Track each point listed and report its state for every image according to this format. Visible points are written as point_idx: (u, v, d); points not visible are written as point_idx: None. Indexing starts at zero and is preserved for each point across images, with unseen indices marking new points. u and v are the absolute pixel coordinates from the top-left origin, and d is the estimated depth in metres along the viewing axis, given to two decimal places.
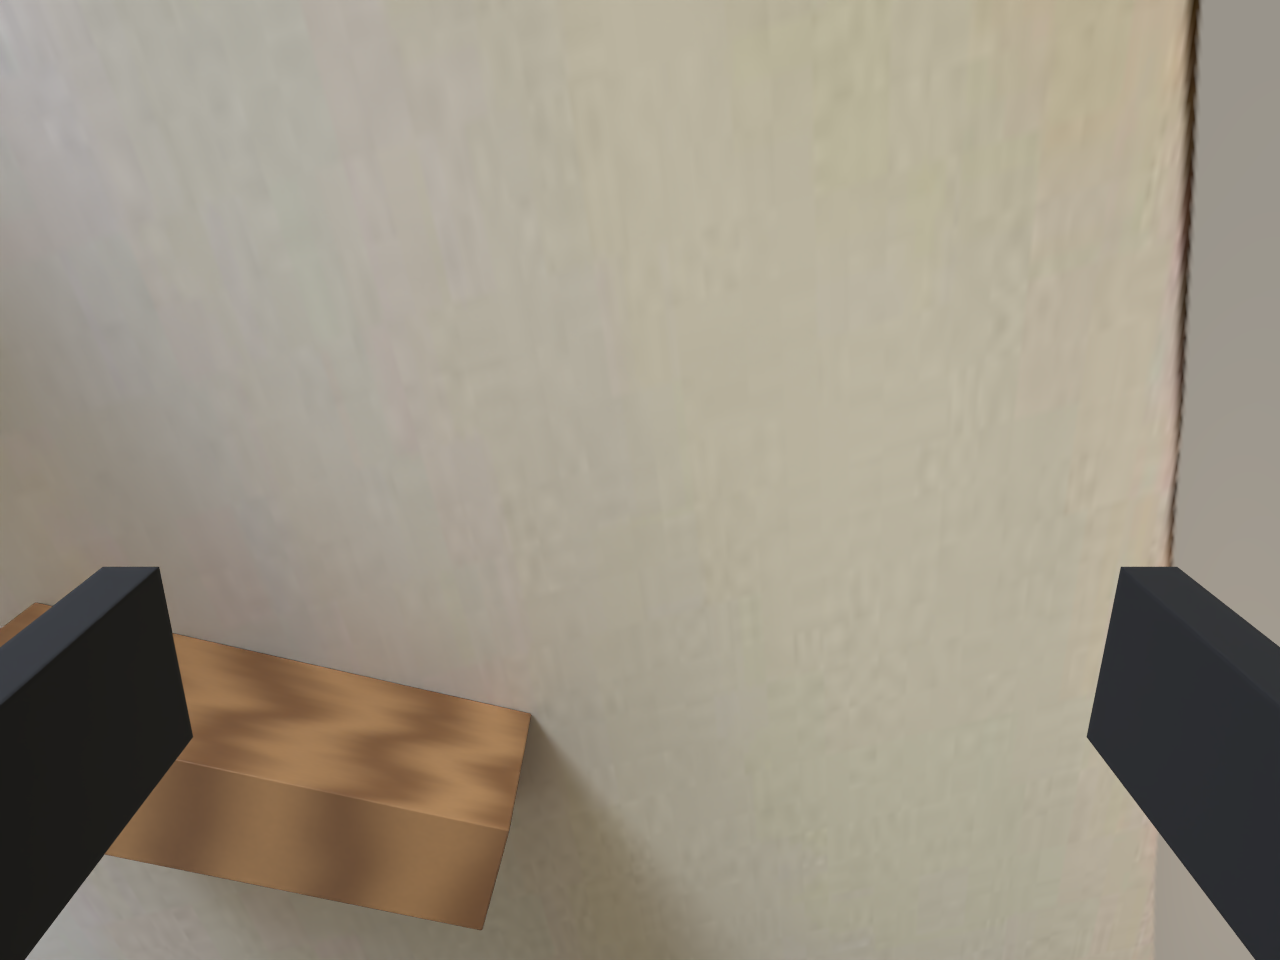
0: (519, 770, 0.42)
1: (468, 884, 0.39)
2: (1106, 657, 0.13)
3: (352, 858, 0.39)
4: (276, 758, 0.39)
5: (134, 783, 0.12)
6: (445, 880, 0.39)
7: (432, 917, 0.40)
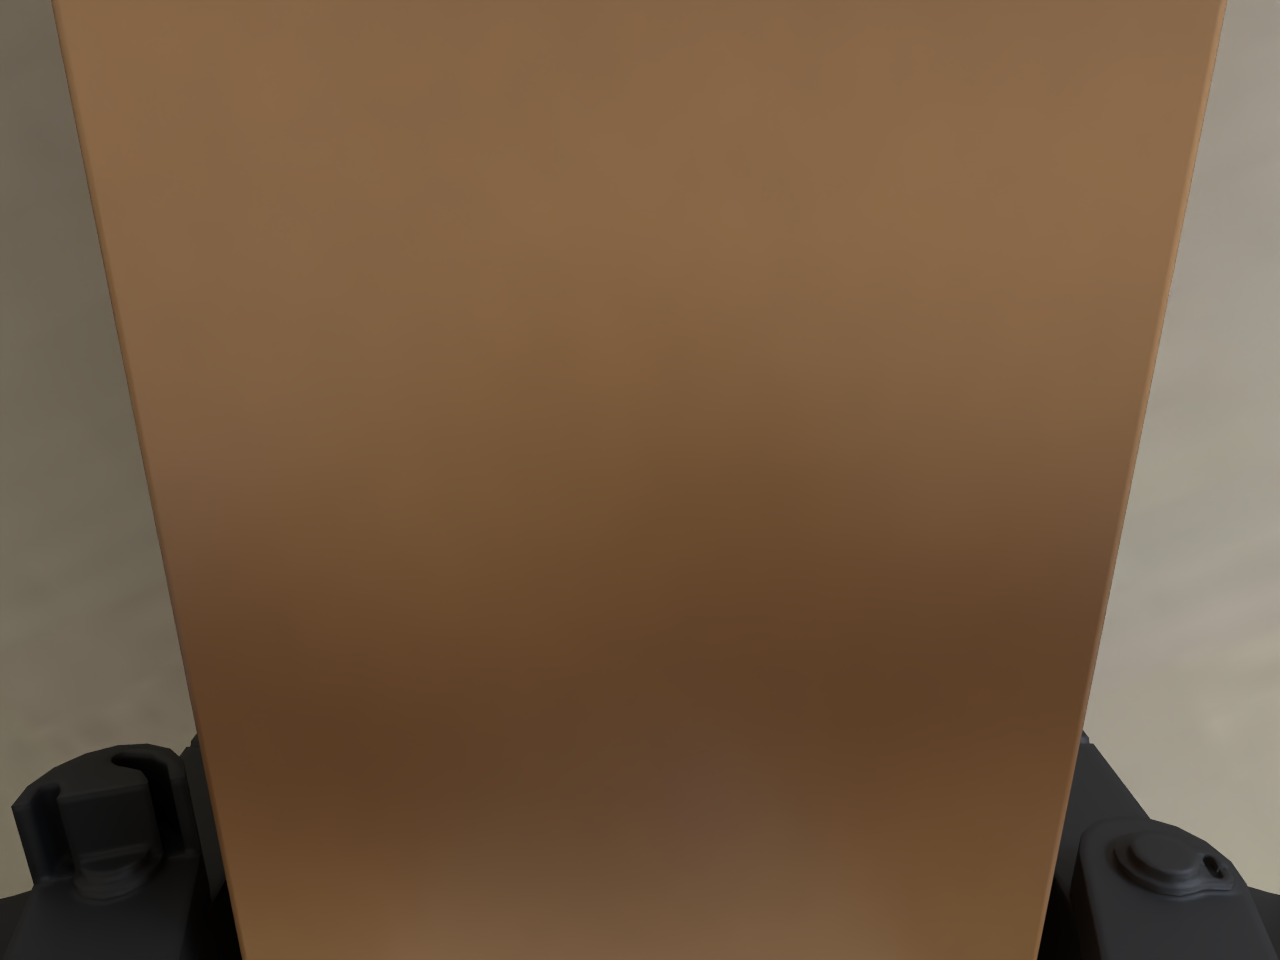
0: None
1: None
2: None
3: (591, 773, 0.06)
4: None
5: None
6: None
7: None
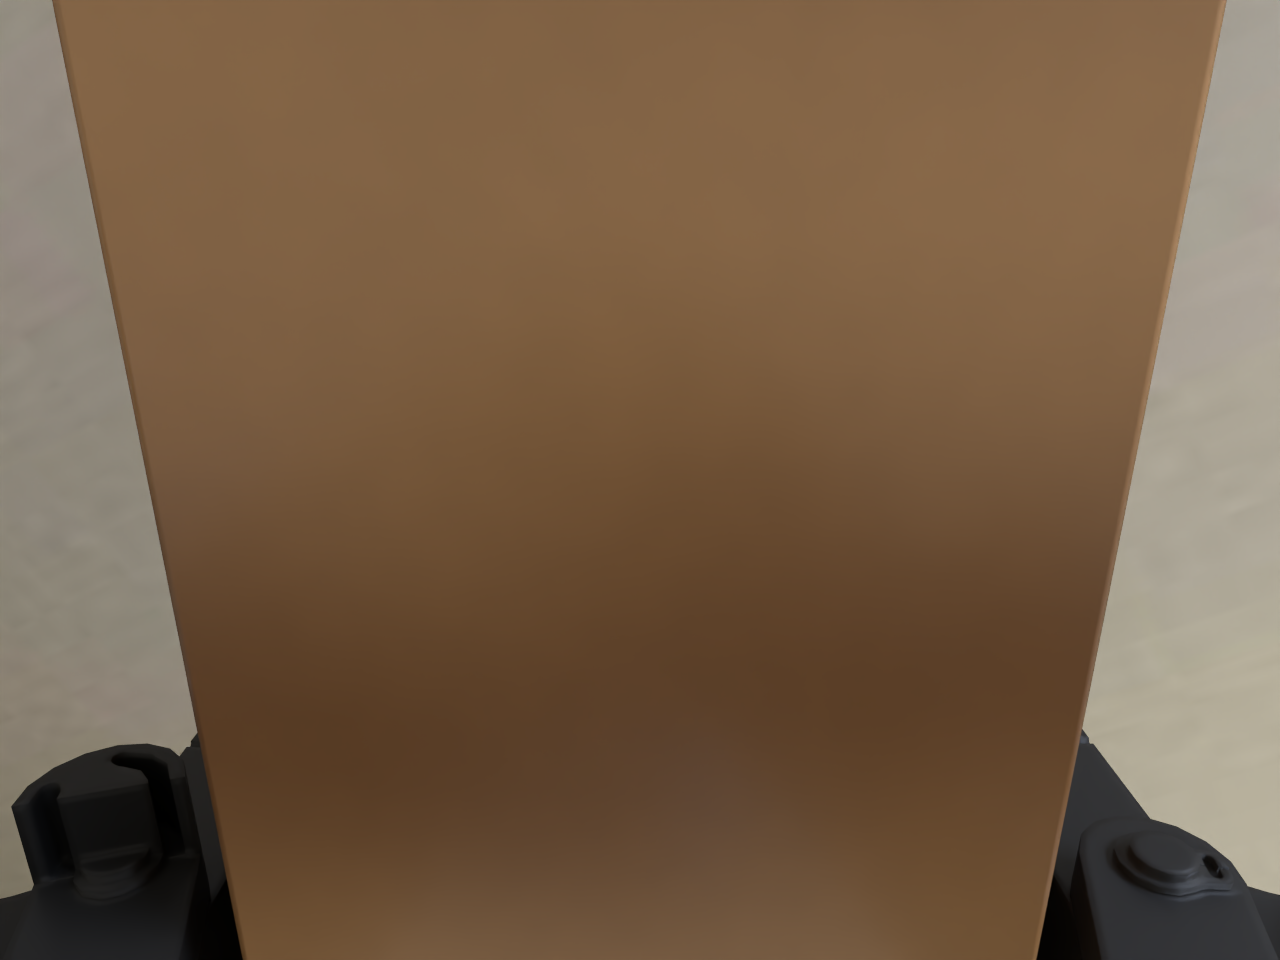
0: None
1: None
2: None
3: (591, 773, 0.06)
4: None
5: None
6: None
7: None
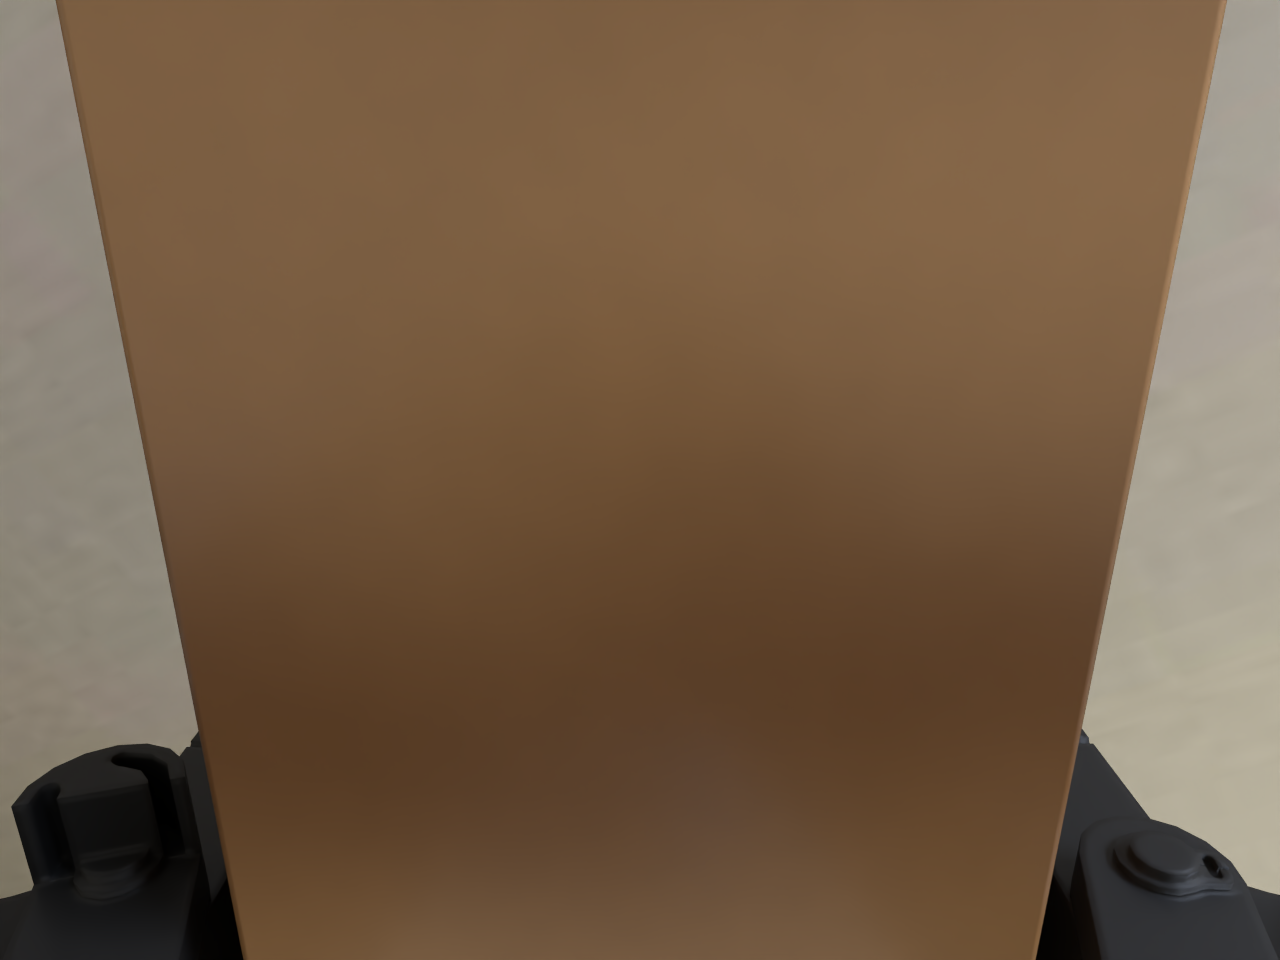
0: None
1: None
2: None
3: (591, 770, 0.06)
4: None
5: None
6: None
7: None
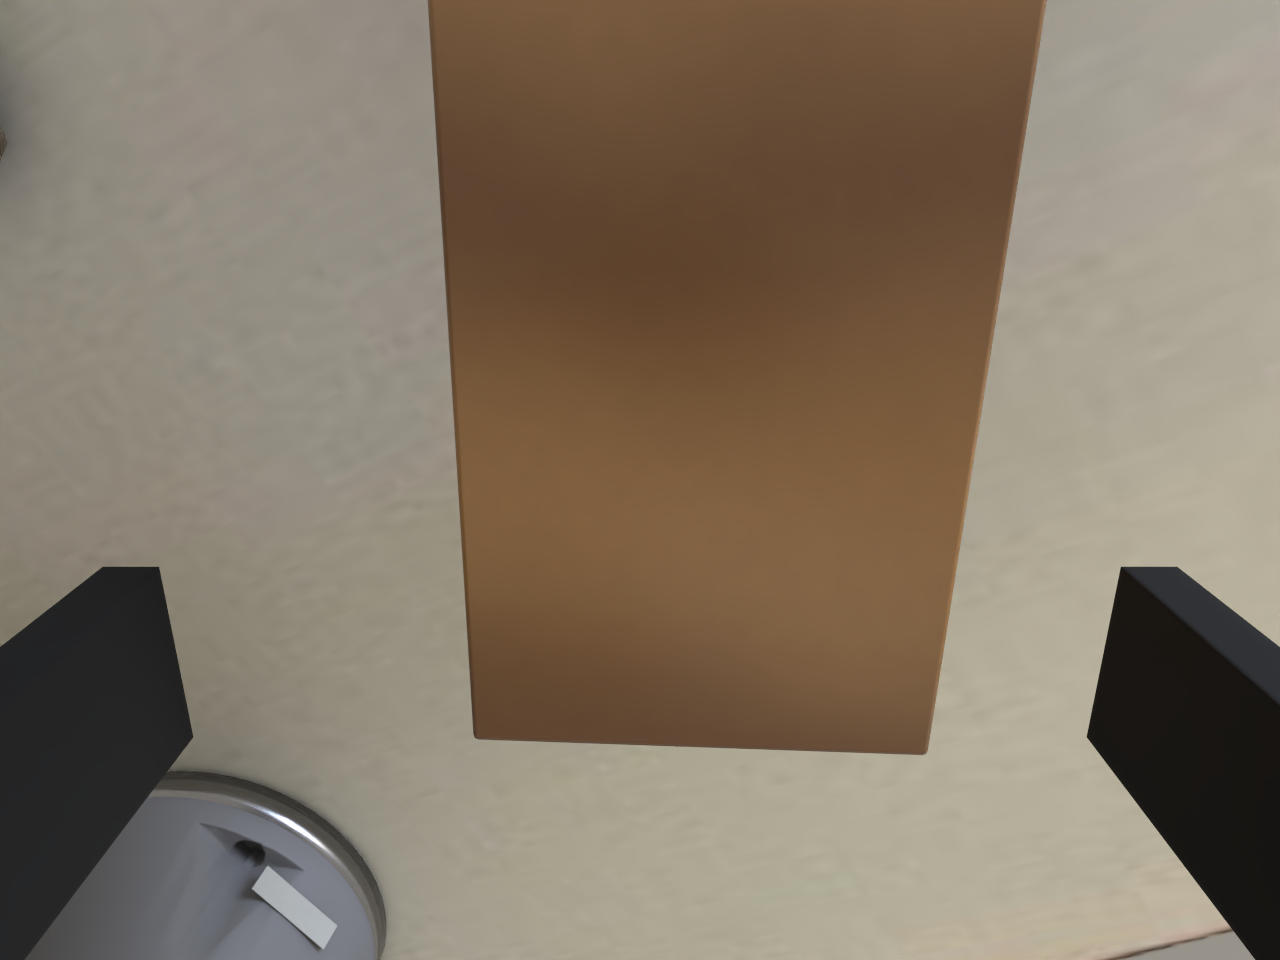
0: None
1: (667, 672, 0.11)
2: (1106, 656, 0.13)
3: (691, 247, 0.09)
4: None
5: (134, 783, 0.12)
6: (666, 601, 0.11)
7: (479, 582, 0.11)
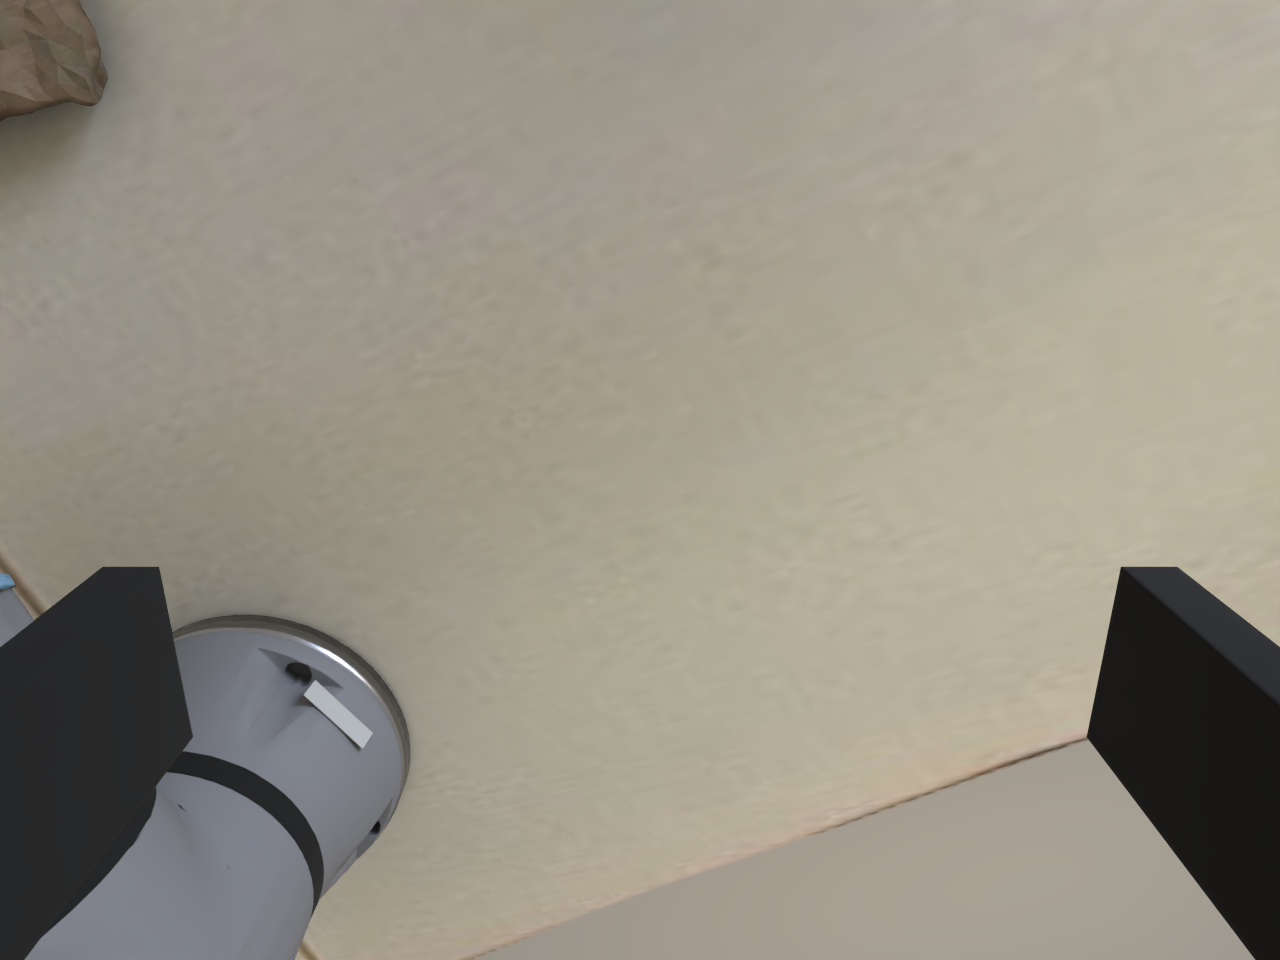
0: None
1: None
2: (1106, 656, 0.13)
3: None
4: None
5: (133, 783, 0.12)
6: None
7: None
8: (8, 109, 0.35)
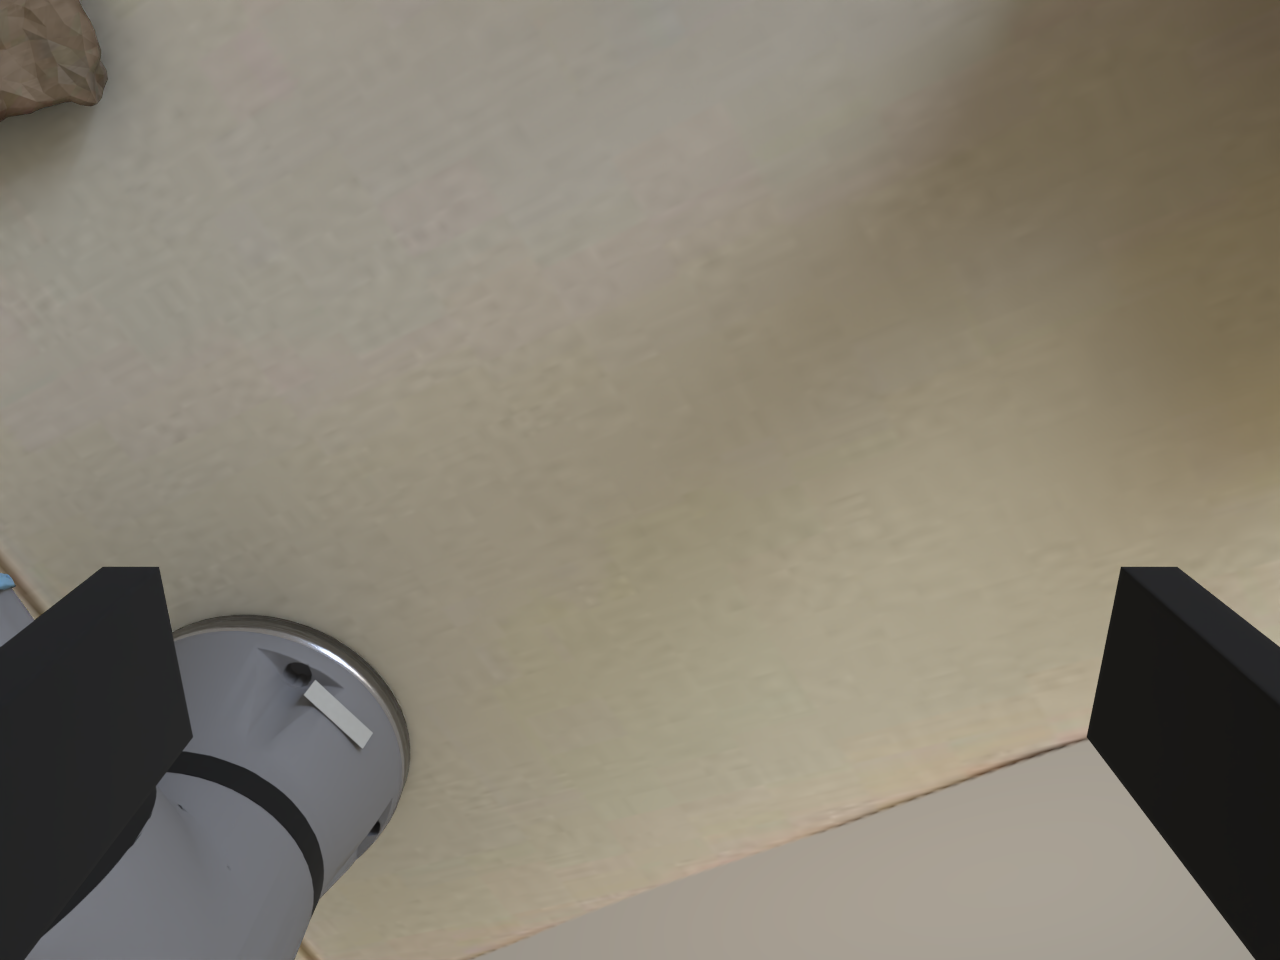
0: None
1: None
2: (1106, 656, 0.13)
3: None
4: None
5: (133, 783, 0.12)
6: None
7: None
8: (8, 109, 0.35)
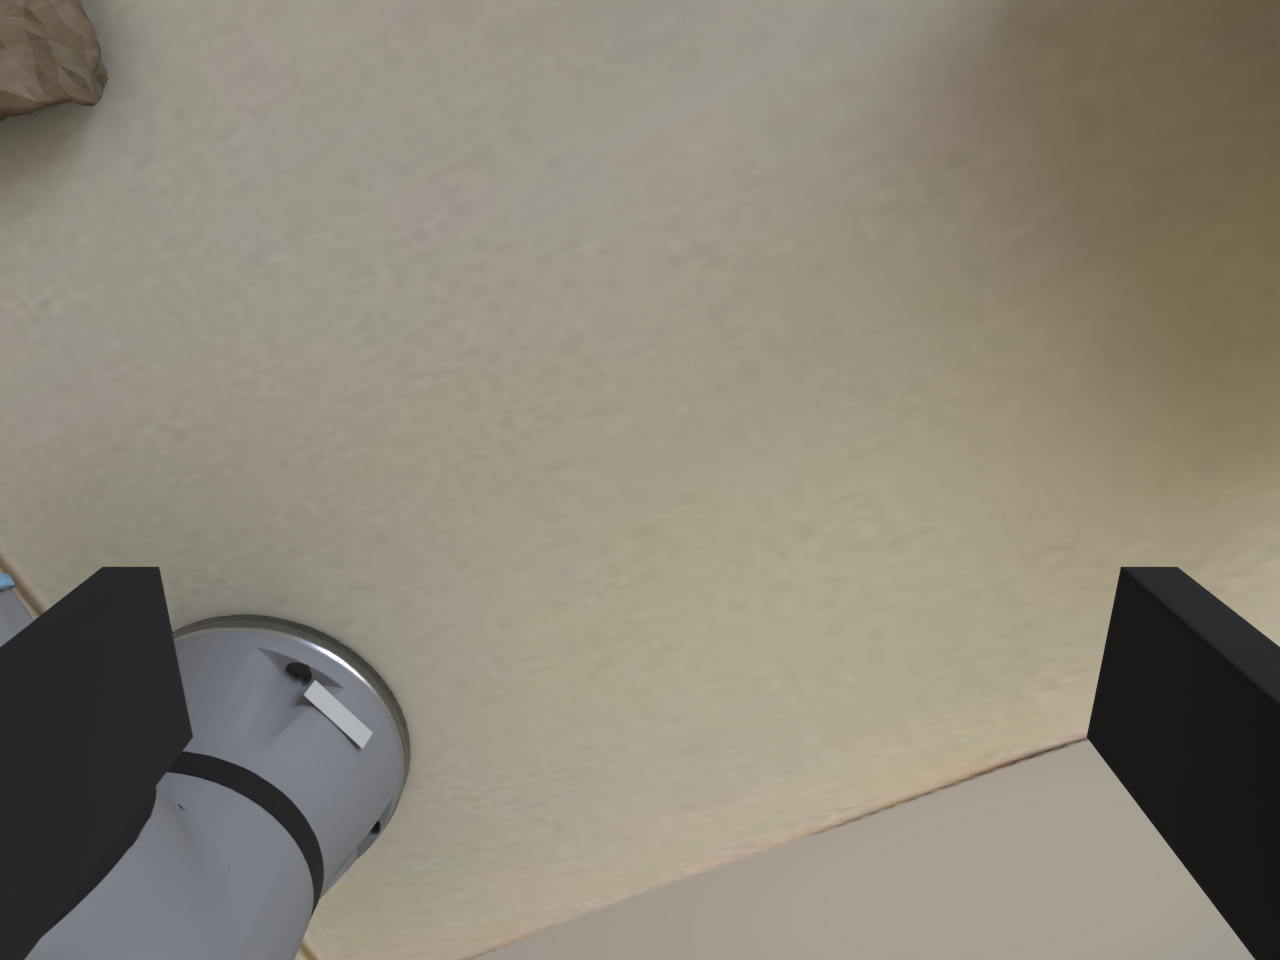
0: None
1: None
2: (1106, 656, 0.13)
3: None
4: None
5: (133, 783, 0.12)
6: None
7: None
8: (8, 109, 0.35)
